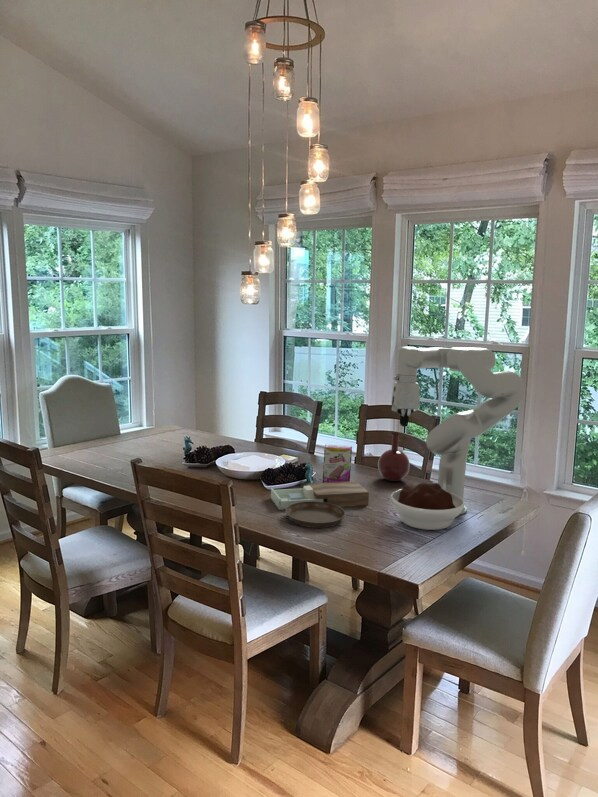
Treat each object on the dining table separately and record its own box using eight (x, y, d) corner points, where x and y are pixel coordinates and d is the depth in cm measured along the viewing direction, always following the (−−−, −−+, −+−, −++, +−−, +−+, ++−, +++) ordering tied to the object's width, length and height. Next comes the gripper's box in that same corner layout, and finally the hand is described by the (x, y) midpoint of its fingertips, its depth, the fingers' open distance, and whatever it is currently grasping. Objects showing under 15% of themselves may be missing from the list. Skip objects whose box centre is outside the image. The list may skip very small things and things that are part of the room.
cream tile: (313, 489, 251) (306, 490, 250) (313, 502, 252) (307, 503, 251) (309, 485, 256) (303, 486, 255) (310, 497, 257) (304, 498, 256)
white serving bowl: (412, 507, 252) (414, 468, 249) (475, 524, 236) (478, 482, 234) (374, 524, 233) (377, 482, 230) (440, 544, 217) (444, 499, 215)
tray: (323, 507, 249) (323, 496, 248) (279, 509, 244) (279, 499, 244) (312, 495, 262) (313, 485, 261) (270, 498, 257) (270, 488, 256)
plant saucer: (356, 524, 233) (357, 515, 232) (305, 534, 222) (305, 525, 222) (324, 506, 250) (324, 498, 250) (274, 515, 240) (275, 506, 239)
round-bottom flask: (380, 474, 294) (383, 429, 290) (411, 478, 289) (414, 432, 286) (373, 482, 281) (376, 435, 278) (405, 486, 277) (408, 439, 274)
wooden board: (368, 505, 253) (368, 492, 252) (316, 508, 248) (317, 495, 247) (355, 493, 266) (355, 481, 265) (306, 496, 261) (306, 483, 260)
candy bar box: (322, 486, 274) (323, 447, 271) (323, 483, 279) (324, 444, 276) (350, 488, 273) (352, 448, 270) (350, 484, 278) (352, 445, 275)
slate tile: (291, 497, 249) (291, 504, 249) (304, 497, 250) (304, 503, 251) (287, 493, 254) (287, 499, 254) (300, 493, 255) (300, 499, 256)
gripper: (392, 380, 256) (389, 428, 259) (428, 380, 260) (425, 427, 263) (384, 377, 263) (382, 424, 266) (420, 377, 267) (417, 423, 270)
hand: (403, 425), depth 265 cm, fingers closed
